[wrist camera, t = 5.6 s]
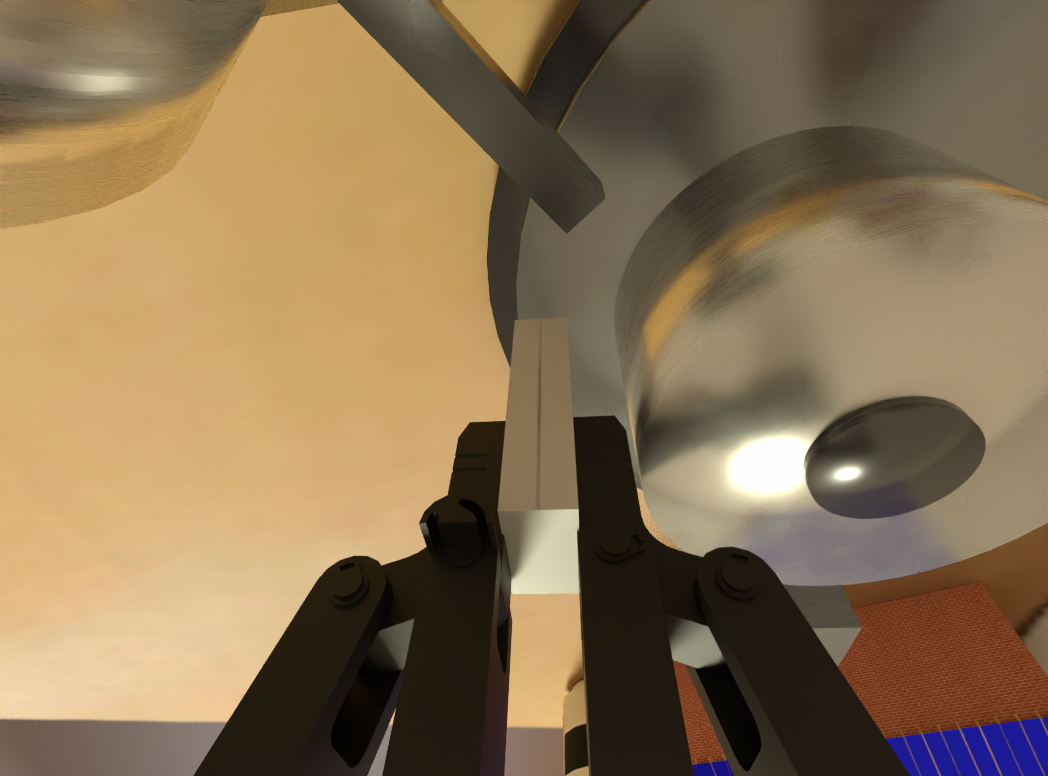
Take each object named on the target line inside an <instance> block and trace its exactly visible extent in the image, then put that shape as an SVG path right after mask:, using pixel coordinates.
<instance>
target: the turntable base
mask: <svg viewBox="0 0 1048 776" xmlns="http://www.w3.org/2000/svg"><path fill="white" fill-rule="evenodd" d="M641 1H642V0H578V1H577V3H576V4H575V6H574V7H573V9H572V11H571V12H570V14H569V15H568V17H567V18H566V20H565V22H564V23H563V25H562V26H561V28H560V29H559V31H558V33H557V34H556V36H555V37H554V39H553V40H552V42H551V44H550V45H549V47H548V48H547V50H546V51H545V53H544V55H543V57H542V59H541V61H540V63H539V65H538V67H537V70H536V72H535V74H534V76H533V78H532V80H531V82H530V84H529V86H528V88H527V90H526V92H525V96H526V97H527V98H528V99H529V100H530V102H531V103H532V104H533V105H534V106H535V107H536V108H537V109H538V111H539V112H540V113H541V114H542V115H543V116H544V117H545V119H546V120H547V121H548V122H549V123H550V124H551V125H552V126H553V128H555V126H556V124H557V122H558V120H559V118H560V116H561V115H562V113H563V111H564V109H565V107H566V105H567V103H568V101H569V99H570V97H571V96H572V94H573V92H574V90H575V88H576V86H577V85H578V83H579V82H580V80H581V79H582V77H583V76H584V75H585V73H586V72H587V70H588V69H589V67H590V66H591V64H592V63H593V61H594V60H595V59H596V57H597V56H598V54H599V53H600V51H601V50H602V48H603V47H604V46H605V44H606V43H607V41H608V40H609V38H610V37H611V35H612V34H613V33H614V32H615V31H616V30H617V29H618V27H619V26H620V25H621V24H622V23H623V22H624V21H625V19H626V18H627V17H628V16H629V15H630V14H631V13H632V11H633V10H634V9H635V8H636V7H637V6H638V5H639V3H640V2H641ZM528 199H529V195H528V194H527V193H526V192H525V191H524V190H523V189H522V188H521V187H520V186H519V185H518V184H517V183H516V182H515V181H514V180H513V179H512V178H511V177H510V176H509V175H508V174H507V173H506V172H505V171H504V170H503V169H502V168H501V167H499V171H498V176H497V181H496V186H495V191H494V196H493V201H492V206H491V211H490V218H489V234H488V250H487V268H488V281H489V294H490V303H491V307H492V311H493V316H494V320H495V325H496V329H497V334H498V337H499V340H500V342H501V345H502V348H503V350H504V353H505V355H506V358H507V361H508V363H509V366H510V368H511V357H512V346H513V335H514V324H515V320H518V314H517V291H516V282H517V272H518V262H519V252H520V242H521V232H522V224H523V220H524V216H525V212H526V208H527V204H528Z"/></svg>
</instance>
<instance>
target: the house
mask: <svg viewBox="0 0 1048 776" xmlns="http://www.w3.org/2000/svg"><path fill="white" fill-rule="evenodd" d="M853 610H854V612H855V614H856V616H857V618H858V620H859V622H860V624H861V626H862V629H861V630H860V632H859V634H858V635H857V637H856V638H855V640H854V642H853V643H852V645H851V646H850V648H849V650H848V651H847V653H846V655H845V656H844V658H843V659H842V661H841V663H840V664H839V666H838V668H839V669H840V671H841V672H842V674H843V675H844V677H845V678H846V680H847V681H848V683H849V684H850V686H851V687H852V689H853V690H854V692H855V693H856V695H857V696H858V698H859V699H860V701H861V702H862V704H863V705H864V707H865V708H866V710H867V711H868V713H869V714H870V716H871V717H872V719H873V720H874V722H875V723H876V725H877V726H878V728H879V729H880V731H881V732H882V734H883V735H884V737H885V738H886V740H887V741H888V743H889V744H890V746H891V747H892V749H893V750H894V752H895V753H896V755H897V756H898V758H899V759H900V761H901V762H902V764H903V765H904V767H905V768H906V770H907V771H908V773H909V774H910V776H1048V677H1047V675H1046V674H1045V673H1044V671H1043V670H1042V668H1041V667H1040V666H1039V665H1038V663H1037V661H1036V660H1035V659H1034V657H1033V656H1032V654H1031V653H1030V651H1029V650H1028V649H1027V647H1026V646H1025V644H1024V643H1023V642H1022V640H1021V639H1020V637H1019V636H1018V634H1017V633H1016V632H1015V630H1014V629H1013V627H1012V626H1011V625H1010V623H1009V622H1008V620H1007V619H1006V617H1005V616H1004V615H1003V613H1002V612H1001V610H1000V609H999V608H998V606H997V605H996V603H995V602H994V600H993V599H992V598H991V596H990V595H989V593H988V592H987V591H986V589H985V588H984V586H983V585H982V583H981V582H976V583H971V584H967V585H962V586H957V587H953V588H948V589H944V590H939V591H934V592H930V593H925V594H920V595H916V596H911V597H906V598H902V599H897V600H892V601H888V602H883V603H878V604H874V605H869V606H864V607H860V608H855V609H853ZM673 663H674V669H675V674H676V680H677V685H678V690H679V696H680V701H681V707H682V712H683V717H684V723H685V728H686V734H687V739H688V744H689V750H690V755H691V761H692V766H693V771H694V776H734V774H733V772H732V770H731V767H730V765H729V763H728V761H727V758H726V756H725V754H724V752H723V749H722V747H721V745H720V742H719V740H718V738H717V736H716V733H715V731H714V729H713V727H712V724H711V722H710V720H709V718H708V715H707V713H706V711H705V709H704V706H703V704H702V702H701V700H700V697H699V695H698V693H697V691H696V688H695V686H694V684H693V682H692V679H691V677H690V675H689V673H688V670H687V668H686V666H685V664H683V663H680V662H677V661H674V660H673Z"/></svg>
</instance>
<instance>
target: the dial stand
mask: <svg viewBox="0 0 1048 776" xmlns="http://www.w3.org/2000/svg"><path fill="white" fill-rule="evenodd" d="M442 1H443V0H0V228H7V227H15V226H23V225H31V224H38V223H43V222H47V221H51V220H55V219H59V218H63V217H67V216H71V215H75V214H79V213H83V212H87V211H91V210H95V209H99V208H102V207H104V206H107V205H109V204H111V203H114V202H116V201H118V200H121V199H123V198H125V197H128V196H130V195H132V194H135V193H137V192H139V191H142V190H144V189H145V188H147V187H148V186H149V185H151V184H152V183H154V182H155V181H156V180H158V179H159V178H161V177H162V176H164V175H165V174H166V173H168V172H169V171H171V170H172V169H173V168H174V166H175V165H176V164H177V163H178V161H179V160H180V159H181V158H182V156H183V155H184V154H185V153H186V151H187V150H188V149H189V148H190V146H191V144H192V142H193V141H194V139H195V137H196V135H197V133H198V131H199V129H200V128H201V126H202V124H203V122H204V120H205V118H206V116H207V115H208V113H209V111H210V109H211V107H212V105H213V104H214V102H215V100H216V98H217V96H218V94H219V92H220V91H221V89H222V87H223V85H224V83H225V81H226V79H227V78H228V76H229V74H230V72H231V70H232V68H233V66H234V65H235V63H236V61H237V59H238V57H239V55H240V54H241V52H242V50H243V48H244V46H245V44H246V42H247V41H248V39H249V37H250V35H251V33H252V31H253V29H254V28H255V26H256V24H257V22H258V20H259V18H260V17H263V16H268V15H274V14H280V13H286V12H292V11H298V10H303V9H309V8H315V7H321V6H327V5H332V4H338V3H340V4H341V5H342V6H343V7H344V8H345V9H346V10H347V11H348V13H349V14H350V15H351V16H352V17H353V18H354V19H355V20H356V21H357V22H358V23H359V24H360V25H361V26H362V27H363V28H364V29H365V30H366V31H367V32H368V33H369V34H370V35H371V36H372V37H373V38H374V39H375V40H376V41H377V42H378V43H379V44H380V45H381V46H382V47H383V48H384V49H385V50H386V51H387V52H388V53H389V54H390V55H391V56H392V57H393V58H394V59H395V60H396V61H397V62H398V63H399V64H400V65H401V66H402V67H403V68H404V69H405V70H406V71H407V72H408V73H409V74H410V76H411V77H412V78H413V79H414V80H415V81H416V82H417V83H418V84H419V85H420V86H421V87H422V88H423V89H424V90H425V91H426V92H427V93H428V94H429V95H430V96H431V97H432V98H433V99H434V100H435V101H436V102H437V103H438V104H439V105H440V106H441V107H442V108H443V109H444V110H445V111H446V112H447V113H448V114H449V115H450V116H451V117H452V118H453V119H454V120H455V121H456V122H457V123H458V124H459V125H460V126H461V127H462V128H463V129H464V130H465V131H466V132H467V133H468V134H469V135H470V136H471V138H472V139H473V140H474V141H475V142H476V143H477V144H478V145H479V146H480V147H481V148H482V149H483V150H484V151H485V152H486V153H487V154H488V155H489V156H490V157H491V158H492V159H493V160H494V161H495V162H496V163H497V164H498V165H499V166H500V167H501V168H502V169H503V170H504V171H505V172H506V173H507V174H508V175H509V176H510V177H511V178H512V179H513V180H514V181H515V182H516V183H517V184H518V185H519V186H520V187H521V188H522V189H523V190H524V191H525V192H526V193H527V194H528V195H529V196H530V197H531V198H532V200H533V201H534V202H535V203H536V204H537V205H538V206H539V207H540V208H541V209H542V210H543V211H544V212H545V213H546V214H547V215H548V216H549V217H550V218H551V219H552V220H553V221H554V222H555V223H556V224H557V225H558V226H559V227H560V228H561V229H562V230H563V231H564V232H565V233H566V234H567V233H568V232H569V231H571V230H572V229H573V228H574V227H575V226H576V225H577V224H578V223H579V222H580V221H582V220H583V219H584V218H585V217H586V216H587V215H588V214H589V213H590V212H591V211H592V210H594V209H595V208H596V207H597V206H598V205H599V204H600V203H601V202H602V201H603V200H605V199H606V197H605V193H604V189H603V186H602V182H601V180H600V179H599V178H598V177H597V176H596V175H595V174H594V173H593V171H592V170H591V169H590V168H589V167H588V166H587V165H586V164H585V162H584V161H583V160H582V159H581V158H580V157H579V156H578V155H577V153H576V152H575V151H574V150H573V149H572V148H571V147H570V146H569V144H568V143H567V142H566V141H565V140H564V139H563V138H562V137H561V135H560V134H559V133H558V132H557V131H556V130H555V129H554V128H553V126H552V125H551V124H550V123H549V122H548V121H547V120H546V119H545V117H544V116H543V115H542V114H541V113H540V112H539V111H538V109H537V108H536V107H535V106H534V105H533V104H532V103H531V102H530V100H529V99H528V98H527V97H526V96H525V95H524V94H523V93H522V91H521V90H520V89H519V88H518V87H517V86H516V85H515V84H514V82H513V81H512V80H511V79H510V78H509V77H508V76H507V75H506V73H505V72H504V71H503V70H502V69H501V68H500V67H499V66H498V64H497V63H496V62H495V61H494V60H493V59H492V58H491V57H490V55H489V54H488V53H487V52H486V51H485V50H484V49H483V48H482V46H481V45H480V44H479V43H478V42H477V41H476V40H475V39H474V37H473V36H472V35H471V34H470V33H469V32H468V31H467V30H466V28H465V27H464V26H463V25H462V24H461V23H460V22H459V21H458V19H457V18H456V17H455V16H454V15H453V14H452V13H451V12H450V10H449V9H448V8H447V7H446V6H445V5H444V4H443V3H442Z"/></svg>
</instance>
